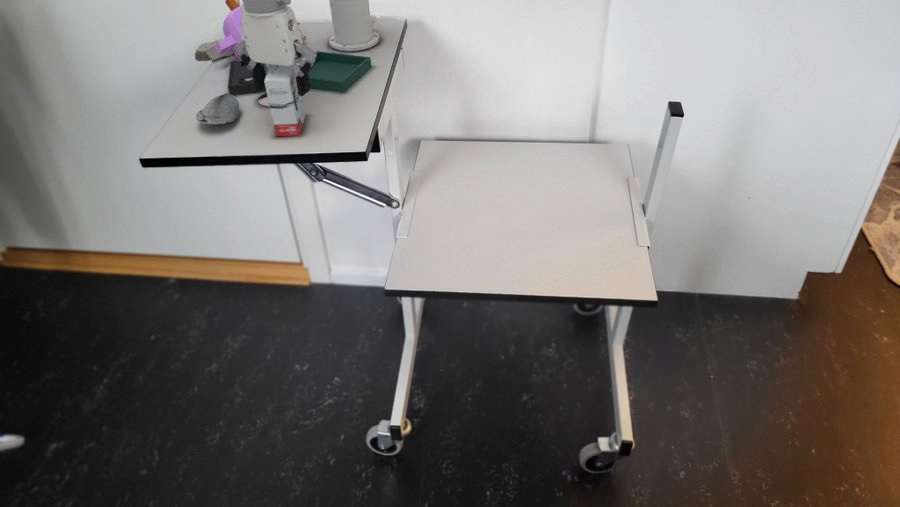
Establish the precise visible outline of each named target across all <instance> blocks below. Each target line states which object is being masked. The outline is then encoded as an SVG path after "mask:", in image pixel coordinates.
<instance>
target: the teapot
mask: <svg viewBox="0 0 900 507" xmlns="http://www.w3.org/2000/svg"><path fill="white" fill-rule="evenodd" d="M242 6H244V5H243V4H241V5H239V7H237V8H236V9H234V10H233V11H231V10H230V12H229V13H228V14H227V15H226V16H225V18H224V20H223V23H222V24H223V25H222V31H223V35H224V38H223V39H219V40H220V41H219V42H217V44H216V45H215V49H216V50H217V52H218V54H221V53H224V52H226V51H228V50H231V49H232V50H233V55H234V56H235V58H237V59H238V61H242V60H241V56H240V55H239V54H238V52H237V51H236V49H235V45H236V44H238V43H240V42H241V41H243V39H242V27H241V7H242Z"/></svg>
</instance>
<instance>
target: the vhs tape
mask: <svg viewBox="0 0 900 507" xmlns="http://www.w3.org/2000/svg"><path fill="white" fill-rule="evenodd" d="M260 65H263V66H264V69H265V73H266V74H267V72H268V71H267V68H266V65H265V64H264V63H261V64H260ZM227 89H228V92H229V93H228V94H231V95H233V96H234V95H241V94H249V93H255V92H256V93H257V92H264V91H266V87H264V88H262V89H261V90H256V87H255V83H254V79H253V75H252V71H250V70H249V69H248V67H247V65H246V64H245V63H244V62H243V61H242V60H234V61H233V60H232V61H230V66H229V74H228V83H227Z"/></svg>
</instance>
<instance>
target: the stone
mask: <svg viewBox="0 0 900 507" xmlns="http://www.w3.org/2000/svg"><path fill="white" fill-rule="evenodd" d="M220 40H221V39H217V40H213V41H211V42H204V43H201V44H199V46H198V47H196V49H195V52H194V58H195V61H196V62H211V61H217V60H219V59H221V58H224V57H231V56H233V55H234V52H233V50H232V49H231V50H228V51H226V52H224V53H221V54H218V52H217V50H216V49H215V45H216V44H217V42H219V41H220Z"/></svg>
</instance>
